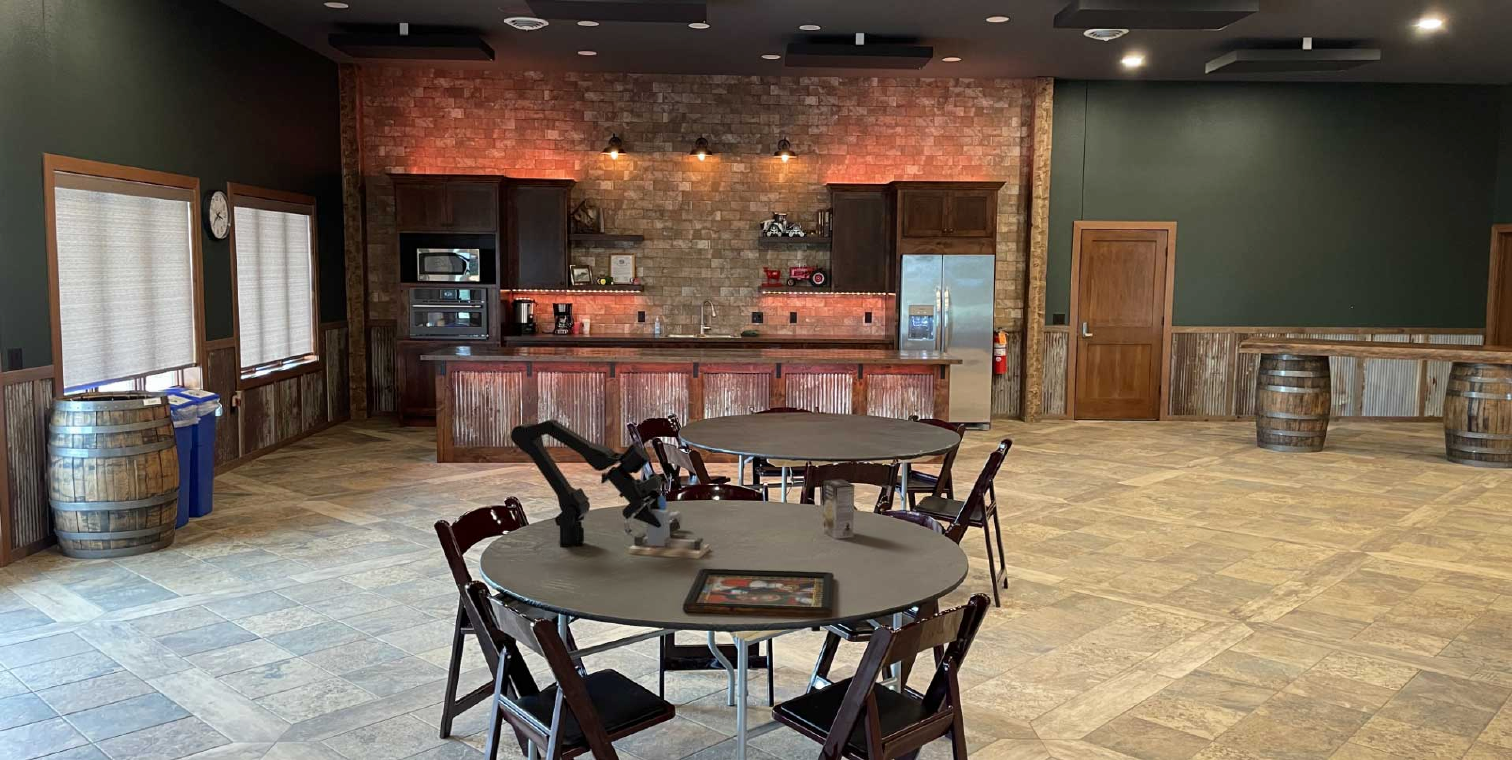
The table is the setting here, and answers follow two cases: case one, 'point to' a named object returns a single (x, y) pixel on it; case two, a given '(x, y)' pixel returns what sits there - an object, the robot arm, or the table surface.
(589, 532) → the table surface
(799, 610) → the framed painting
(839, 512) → the coffee box
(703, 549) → the rail
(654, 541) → the pale blue rectangular block
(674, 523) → the clip-on lamp
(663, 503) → the blue mole toy
